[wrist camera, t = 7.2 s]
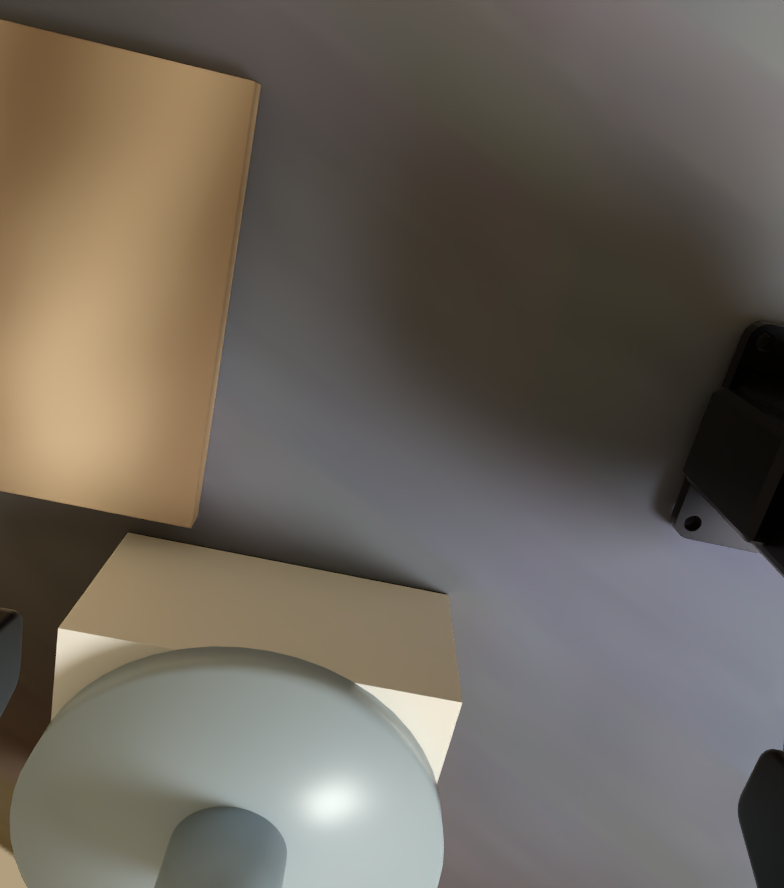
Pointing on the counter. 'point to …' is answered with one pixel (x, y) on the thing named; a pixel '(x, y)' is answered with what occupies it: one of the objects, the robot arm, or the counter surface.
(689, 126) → the counter surface
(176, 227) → the mat
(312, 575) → the dish
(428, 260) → the counter surface
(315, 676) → the lid
